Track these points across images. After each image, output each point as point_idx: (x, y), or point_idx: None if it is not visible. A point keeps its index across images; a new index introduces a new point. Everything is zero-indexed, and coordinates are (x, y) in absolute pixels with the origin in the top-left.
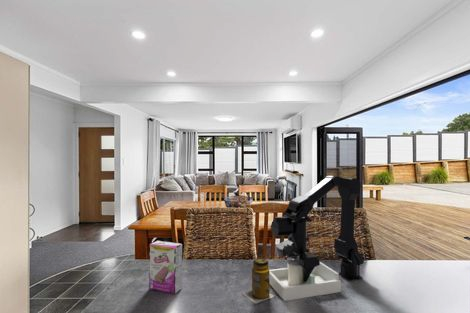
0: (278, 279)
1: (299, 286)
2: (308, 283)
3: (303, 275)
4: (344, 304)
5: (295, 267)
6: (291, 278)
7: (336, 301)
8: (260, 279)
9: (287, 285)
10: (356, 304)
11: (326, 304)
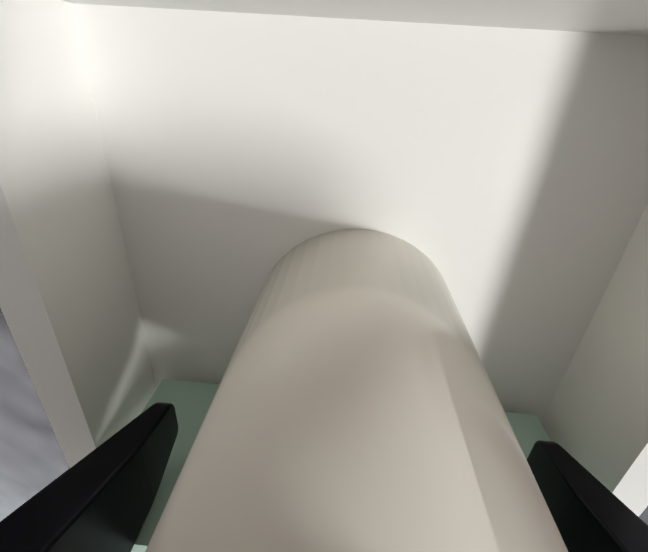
0: (595, 183)
1: None
2: (191, 424)
3: (61, 487)
4: (17, 453)
5: None
6: (283, 301)
7: (55, 438)
8: None
9: (362, 212)
10: (22, 499)
11: (5, 361)
